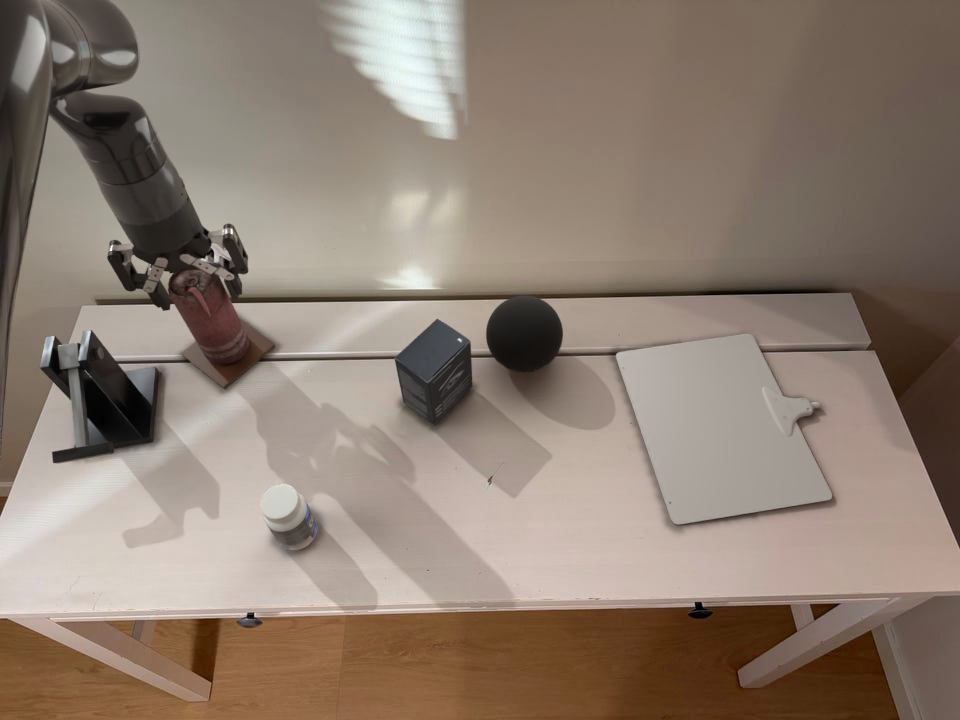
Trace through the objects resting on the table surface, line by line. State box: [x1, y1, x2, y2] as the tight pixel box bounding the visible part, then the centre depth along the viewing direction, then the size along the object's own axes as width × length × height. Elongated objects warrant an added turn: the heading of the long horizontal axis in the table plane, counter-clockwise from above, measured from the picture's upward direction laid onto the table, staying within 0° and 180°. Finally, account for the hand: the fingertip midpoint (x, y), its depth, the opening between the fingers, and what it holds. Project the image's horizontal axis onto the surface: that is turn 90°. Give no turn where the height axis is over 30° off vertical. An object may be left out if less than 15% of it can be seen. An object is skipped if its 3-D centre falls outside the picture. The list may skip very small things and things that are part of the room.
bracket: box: [39, 329, 160, 450], centre depth 80 cm, size 11×9×14 cm
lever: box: [51, 342, 115, 464], centre depth 75 cm, size 13×6×2 cm, turn 12°
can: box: [167, 267, 249, 365], centre depth 85 cm, size 6×6×14 cm
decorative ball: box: [485, 295, 564, 373], centre depth 87 cm, size 10×10×10 cm
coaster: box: [180, 318, 276, 390], centre depth 91 cm, size 9×9×1 cm
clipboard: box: [615, 333, 833, 526], centre depth 84 cm, size 25×24×1 cm
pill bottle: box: [259, 483, 318, 551], centre depth 73 cm, size 5×5×8 cm
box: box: [394, 318, 474, 426], centre depth 83 cm, size 8×6×11 cm
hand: (202, 299), depth 83 cm, fingers open, 8 cm apart
